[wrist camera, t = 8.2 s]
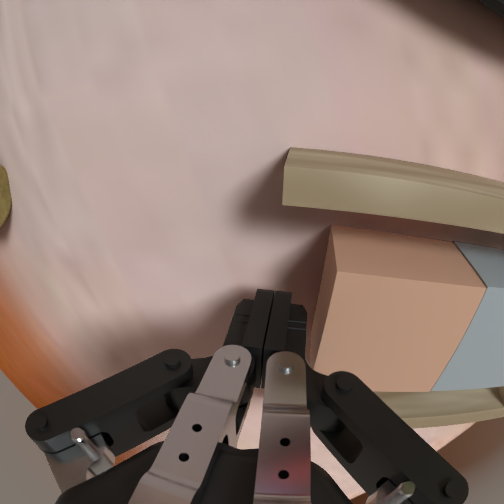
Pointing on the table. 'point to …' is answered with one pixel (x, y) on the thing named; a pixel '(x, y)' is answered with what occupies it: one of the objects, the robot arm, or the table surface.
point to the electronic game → (495, 6)
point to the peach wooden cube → (391, 308)
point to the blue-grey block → (480, 328)
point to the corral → (410, 207)
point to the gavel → (4, 196)
